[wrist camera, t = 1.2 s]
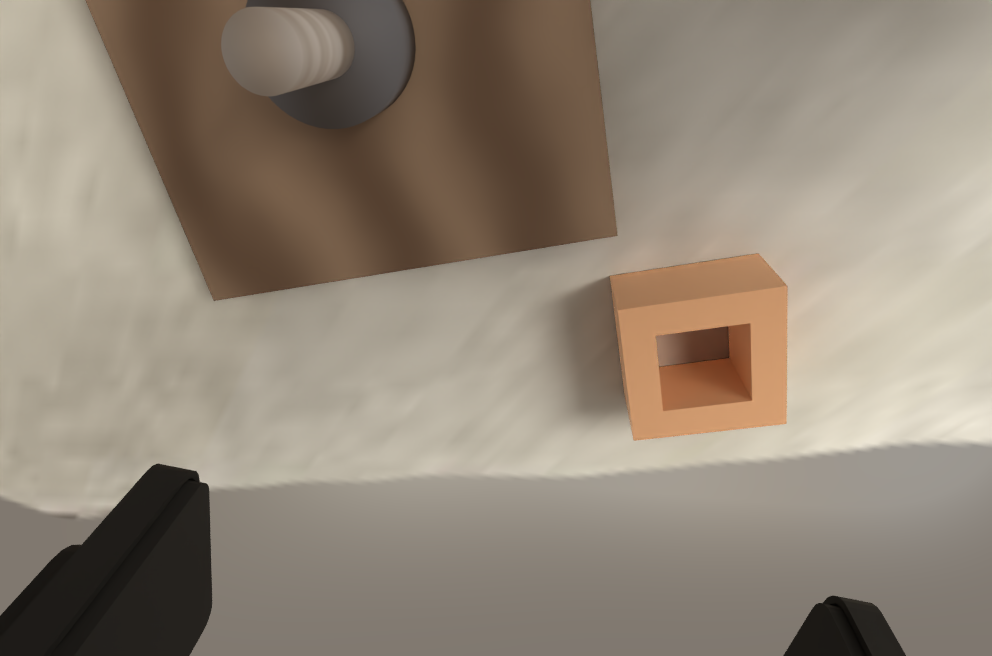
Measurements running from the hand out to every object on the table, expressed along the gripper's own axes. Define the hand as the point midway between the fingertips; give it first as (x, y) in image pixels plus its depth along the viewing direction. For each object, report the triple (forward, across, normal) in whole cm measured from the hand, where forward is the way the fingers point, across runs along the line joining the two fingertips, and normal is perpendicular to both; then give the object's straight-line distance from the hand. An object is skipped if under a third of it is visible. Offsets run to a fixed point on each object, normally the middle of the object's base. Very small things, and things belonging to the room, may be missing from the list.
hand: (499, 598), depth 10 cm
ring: (+22, -9, +4) cm, 24 cm away
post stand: (+22, +9, -6) cm, 25 cm away
